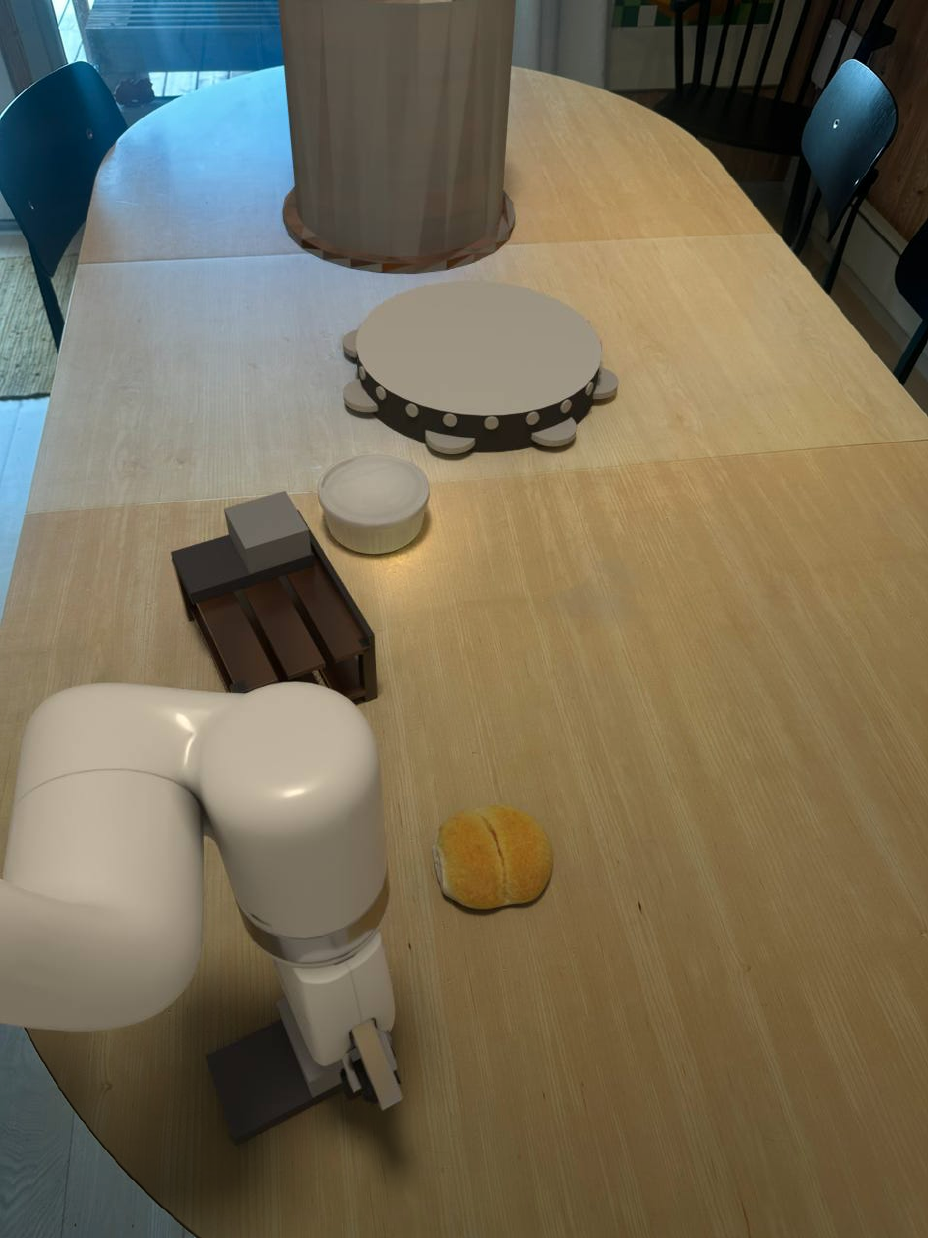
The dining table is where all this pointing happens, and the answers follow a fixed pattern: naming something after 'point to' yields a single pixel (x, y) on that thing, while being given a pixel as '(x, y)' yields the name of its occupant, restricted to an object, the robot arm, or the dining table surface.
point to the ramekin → (374, 501)
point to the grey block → (247, 549)
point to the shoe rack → (289, 632)
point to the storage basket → (398, 130)
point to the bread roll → (492, 857)
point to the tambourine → (477, 367)
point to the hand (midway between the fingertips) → (338, 1011)
